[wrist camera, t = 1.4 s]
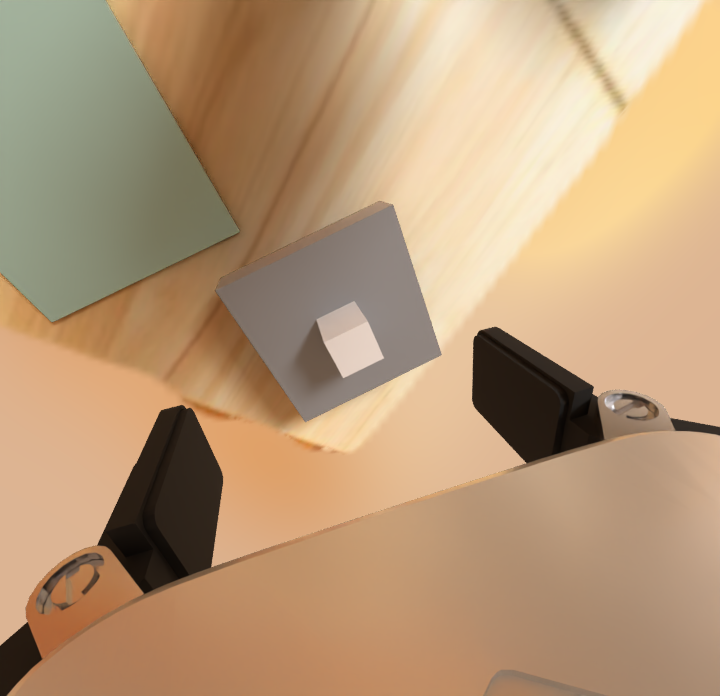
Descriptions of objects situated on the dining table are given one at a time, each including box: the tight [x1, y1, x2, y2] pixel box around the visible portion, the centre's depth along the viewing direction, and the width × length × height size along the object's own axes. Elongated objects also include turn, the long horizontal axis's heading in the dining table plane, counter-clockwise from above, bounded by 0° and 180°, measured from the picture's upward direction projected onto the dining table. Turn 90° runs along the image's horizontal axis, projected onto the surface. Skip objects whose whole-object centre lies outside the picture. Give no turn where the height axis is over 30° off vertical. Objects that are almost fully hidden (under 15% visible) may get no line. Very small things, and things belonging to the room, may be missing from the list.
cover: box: [215, 201, 442, 422], centre depth 33 cm, size 17×17×9 cm
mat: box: [0, 0, 240, 322], centre depth 28 cm, size 20×20×1 cm
